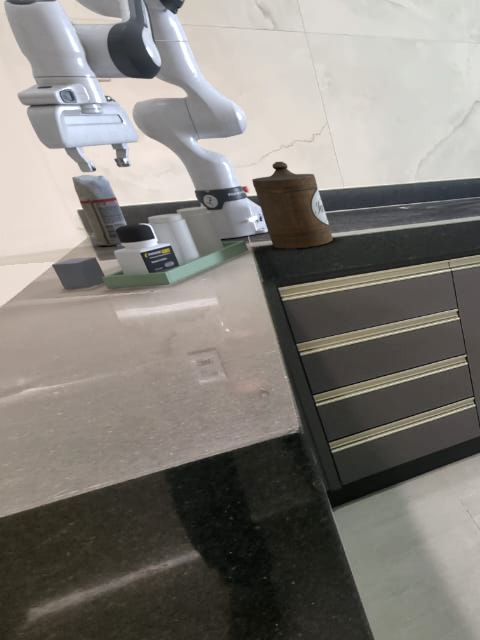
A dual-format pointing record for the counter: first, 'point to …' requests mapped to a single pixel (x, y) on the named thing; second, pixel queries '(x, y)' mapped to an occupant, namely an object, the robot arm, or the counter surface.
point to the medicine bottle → (143, 251)
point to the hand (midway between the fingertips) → (107, 169)
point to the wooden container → (292, 209)
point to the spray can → (100, 207)
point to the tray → (175, 269)
